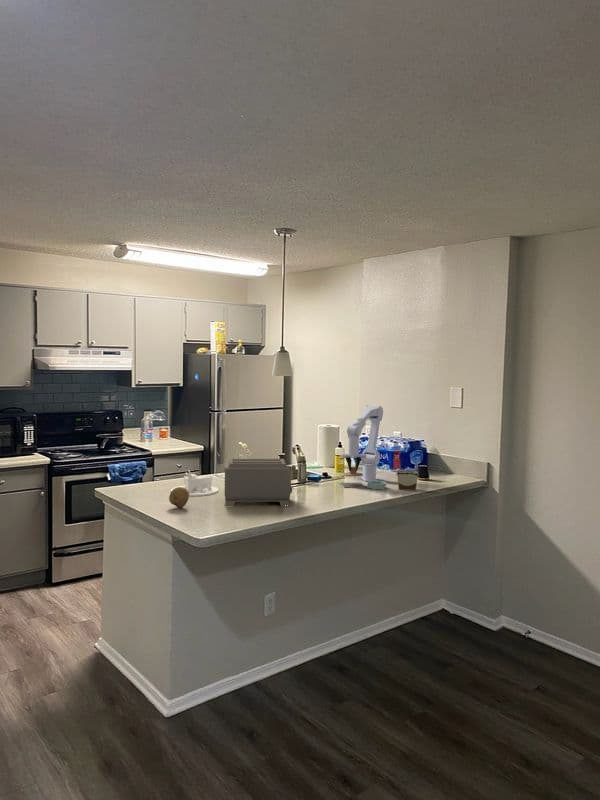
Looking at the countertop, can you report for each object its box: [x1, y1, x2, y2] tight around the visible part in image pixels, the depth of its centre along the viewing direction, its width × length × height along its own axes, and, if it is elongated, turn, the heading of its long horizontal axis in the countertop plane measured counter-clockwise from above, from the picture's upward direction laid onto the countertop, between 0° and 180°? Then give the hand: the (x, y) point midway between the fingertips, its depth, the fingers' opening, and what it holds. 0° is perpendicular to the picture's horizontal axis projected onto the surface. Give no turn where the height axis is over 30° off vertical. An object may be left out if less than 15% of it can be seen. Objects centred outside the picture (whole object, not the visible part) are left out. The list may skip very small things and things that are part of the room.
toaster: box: [224, 458, 297, 507], centre depth 307 cm, size 19×35×20 cm, turn 96°
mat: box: [339, 482, 367, 488], centre depth 352 cm, size 12×12×1 cm
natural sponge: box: [168, 486, 190, 509], centre depth 292 cm, size 9×9×10 cm
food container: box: [396, 469, 420, 491], centre depth 346 cm, size 12×6×10 cm, turn 84°
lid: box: [343, 466, 363, 477], centre depth 352 cm, size 11×11×4 cm
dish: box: [170, 469, 219, 497], centre depth 329 cm, size 25×25×11 cm
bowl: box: [367, 480, 387, 490], centre depth 347 cm, size 10×10×3 cm
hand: (353, 470), depth 352 cm, fingers closed on lid, 3 cm apart
